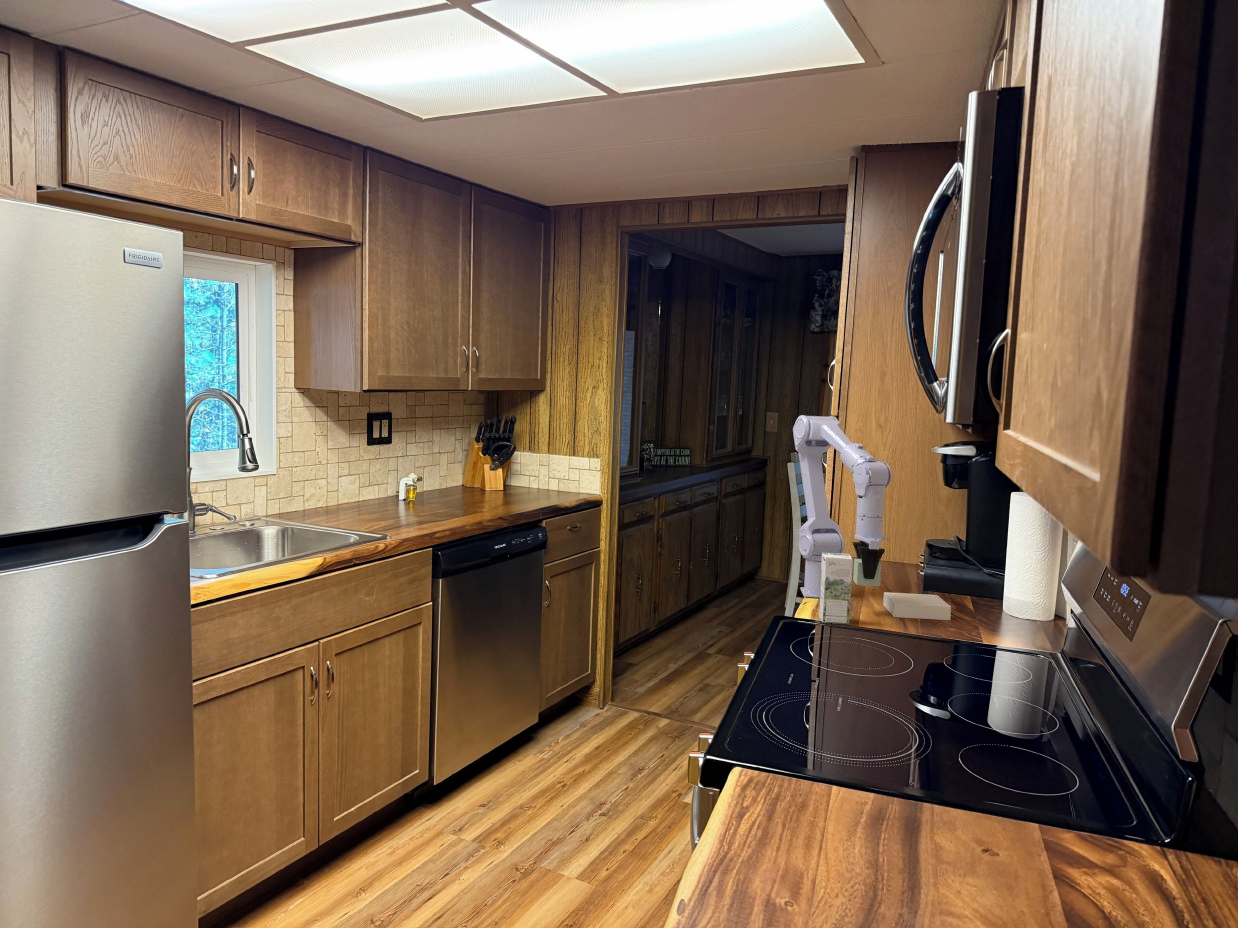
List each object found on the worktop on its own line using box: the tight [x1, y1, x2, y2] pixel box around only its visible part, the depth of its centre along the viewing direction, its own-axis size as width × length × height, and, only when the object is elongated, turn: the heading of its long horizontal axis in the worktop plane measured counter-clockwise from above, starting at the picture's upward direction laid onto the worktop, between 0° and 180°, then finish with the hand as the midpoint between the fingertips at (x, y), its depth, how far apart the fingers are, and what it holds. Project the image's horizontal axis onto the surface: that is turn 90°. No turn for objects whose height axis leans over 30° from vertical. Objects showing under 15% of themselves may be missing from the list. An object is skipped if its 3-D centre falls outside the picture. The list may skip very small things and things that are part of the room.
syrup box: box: [818, 553, 854, 625], centre depth 182 cm, size 6×6×14 cm
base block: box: [882, 591, 952, 621], centre depth 193 cm, size 12×12×3 cm
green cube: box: [852, 558, 882, 587], centre depth 190 cm, size 5×5×5 cm
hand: (866, 576), depth 190 cm, fingers closed on green cube, 5 cm apart
